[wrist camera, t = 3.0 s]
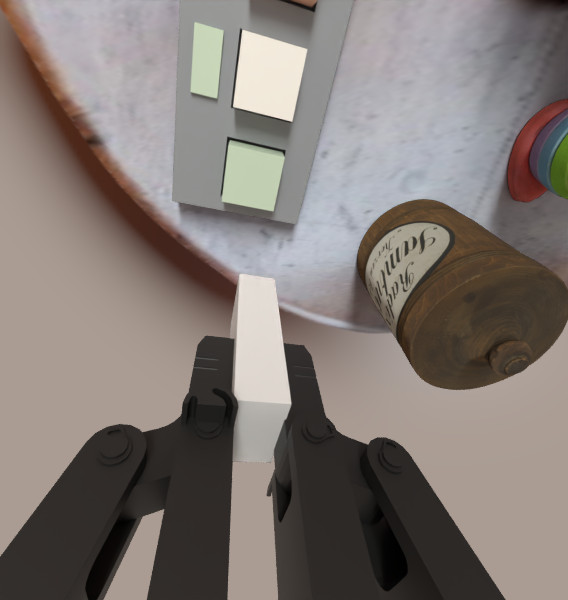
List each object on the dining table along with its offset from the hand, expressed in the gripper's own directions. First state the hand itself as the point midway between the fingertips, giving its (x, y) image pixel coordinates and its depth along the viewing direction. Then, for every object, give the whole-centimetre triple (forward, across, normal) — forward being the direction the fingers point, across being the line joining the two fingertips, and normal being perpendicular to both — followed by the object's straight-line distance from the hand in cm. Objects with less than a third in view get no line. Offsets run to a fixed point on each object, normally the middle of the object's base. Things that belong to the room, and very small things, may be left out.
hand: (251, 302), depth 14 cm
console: (+27, -1, +9) cm, 28 cm away
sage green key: (+25, 0, 0) cm, 25 cm away
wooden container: (+27, +23, -6) cm, 36 cm away
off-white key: (+25, 0, +9) cm, 26 cm away
